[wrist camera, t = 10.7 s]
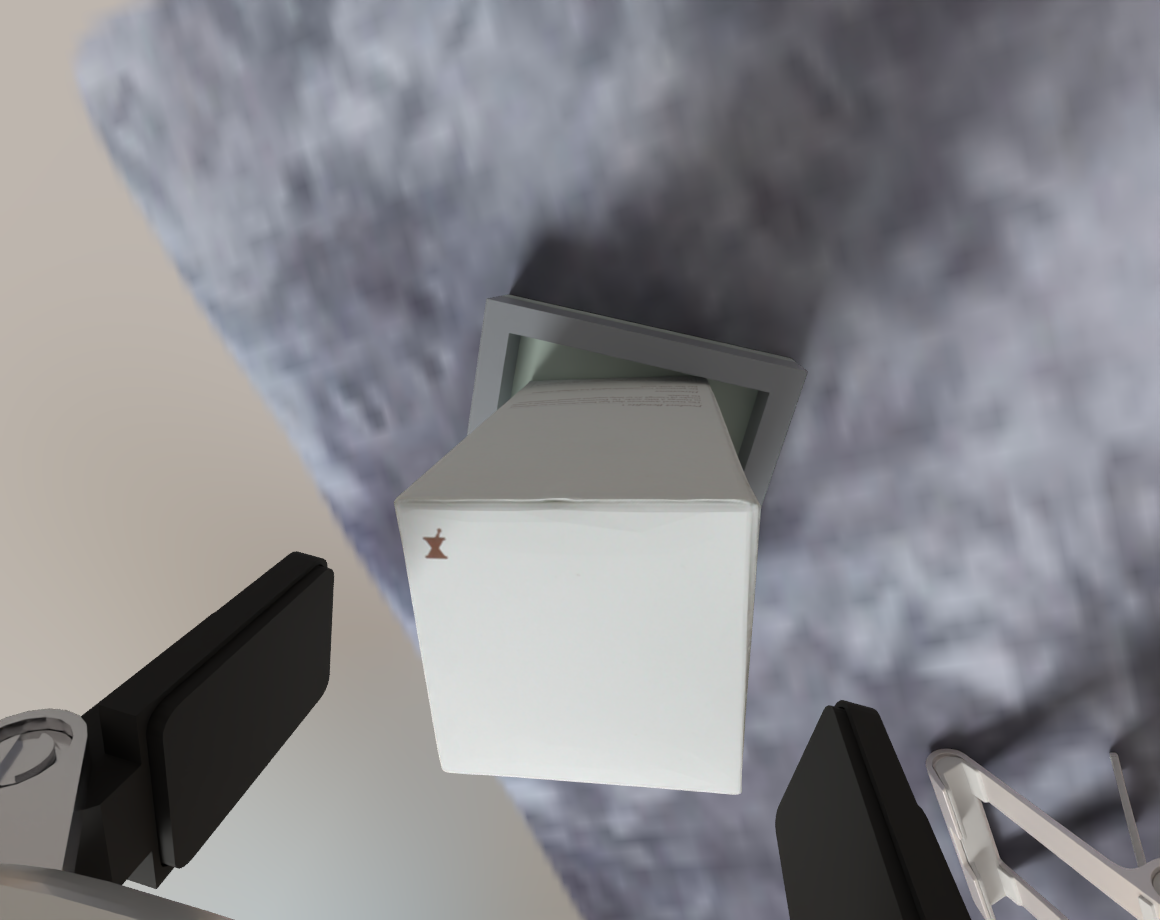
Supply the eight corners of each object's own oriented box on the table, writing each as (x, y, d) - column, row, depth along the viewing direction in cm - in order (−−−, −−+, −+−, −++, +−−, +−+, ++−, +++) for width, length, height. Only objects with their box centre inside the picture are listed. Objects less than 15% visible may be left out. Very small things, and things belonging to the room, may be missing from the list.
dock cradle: (508, 294, 23) (486, 298, 21) (790, 358, 23) (807, 371, 20) (470, 541, 27) (447, 573, 25) (709, 603, 27) (714, 643, 24)
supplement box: (539, 541, 26) (427, 779, 14) (527, 376, 23) (380, 491, 12) (709, 546, 25) (745, 809, 13) (714, 372, 22) (765, 496, 10)
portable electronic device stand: (918, 752, 28) (1016, 946, 20) (1105, 713, 26) (1298, 912, 18) (963, 880, 30) (1069, 1102, 22) (1140, 853, 28) (1327, 1088, 20)
